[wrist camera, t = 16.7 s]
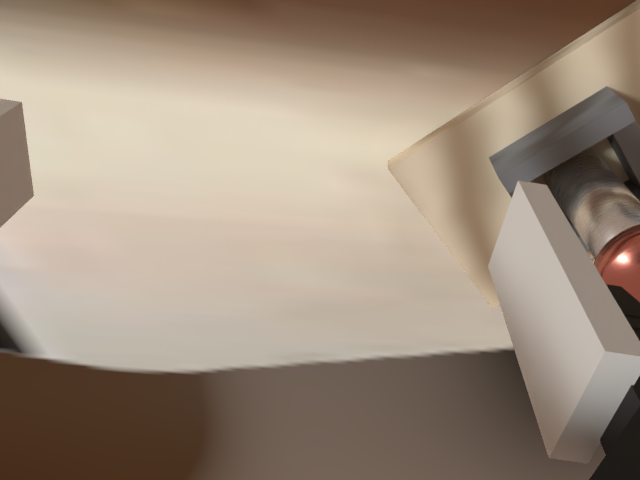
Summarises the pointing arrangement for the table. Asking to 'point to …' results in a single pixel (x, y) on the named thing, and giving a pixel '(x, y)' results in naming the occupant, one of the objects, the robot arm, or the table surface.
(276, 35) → the table surface
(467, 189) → the socket
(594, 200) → the pin
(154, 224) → the table surface
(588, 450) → the robot arm
